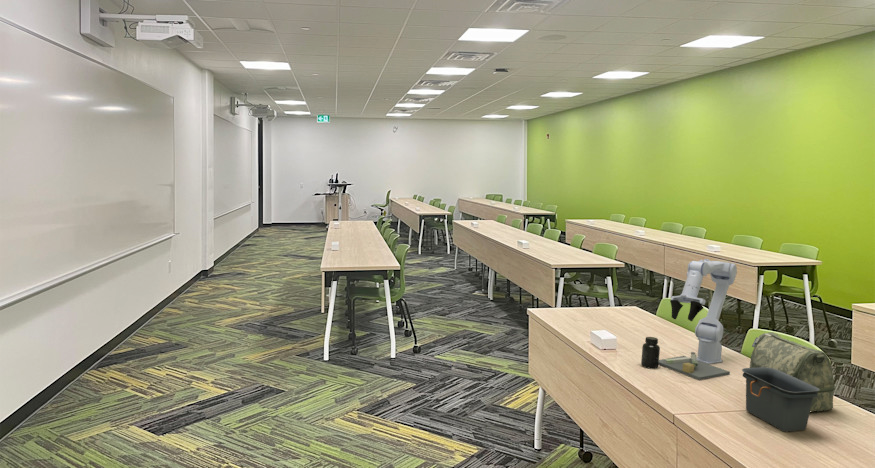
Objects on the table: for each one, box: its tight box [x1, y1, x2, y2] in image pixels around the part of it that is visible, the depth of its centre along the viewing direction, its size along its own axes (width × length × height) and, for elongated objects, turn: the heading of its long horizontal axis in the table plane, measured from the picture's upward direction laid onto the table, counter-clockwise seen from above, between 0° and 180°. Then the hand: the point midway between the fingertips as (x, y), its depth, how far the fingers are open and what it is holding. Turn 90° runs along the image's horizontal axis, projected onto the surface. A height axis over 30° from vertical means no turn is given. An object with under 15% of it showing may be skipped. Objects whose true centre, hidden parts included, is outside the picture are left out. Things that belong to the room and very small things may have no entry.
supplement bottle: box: [640, 336, 661, 369], centre depth 236 cm, size 7×7×12 cm
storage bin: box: [741, 367, 820, 433], centre depth 184 cm, size 21×16×14 cm
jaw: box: [690, 353, 698, 367], centre depth 235 cm, size 13×2×2 cm, turn 159°
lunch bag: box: [749, 332, 836, 412], centre depth 203 cm, size 26×18×22 cm
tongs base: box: [659, 351, 731, 381], centre depth 235 cm, size 18×22×5 cm
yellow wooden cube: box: [682, 363, 694, 373], centre depth 227 cm, size 3×3×3 cm
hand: (681, 319), depth 227 cm, fingers open, 7 cm apart
